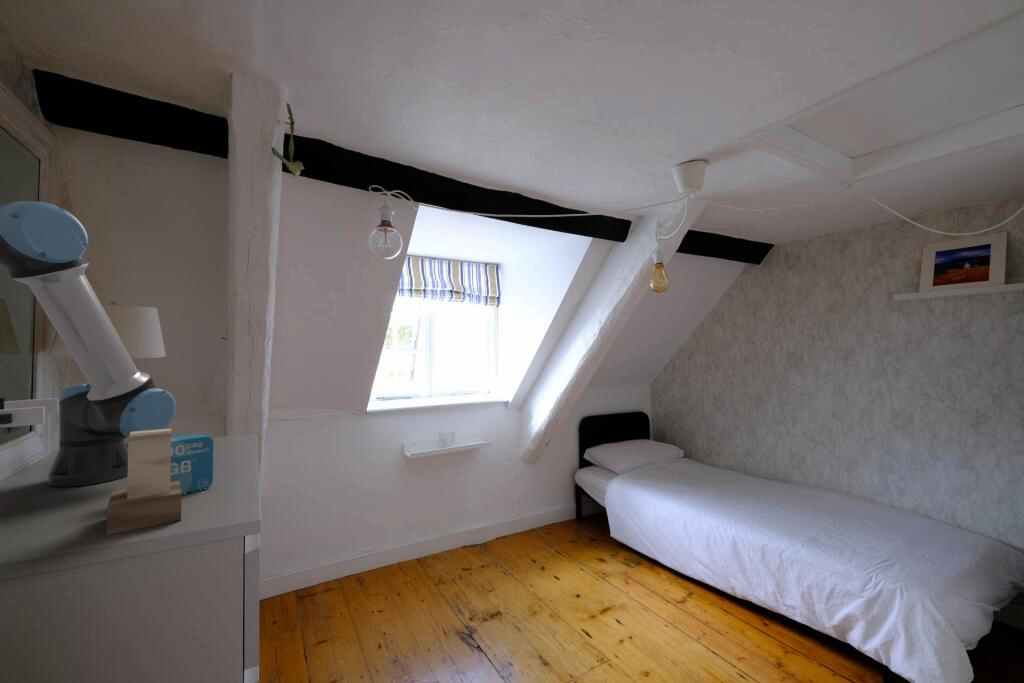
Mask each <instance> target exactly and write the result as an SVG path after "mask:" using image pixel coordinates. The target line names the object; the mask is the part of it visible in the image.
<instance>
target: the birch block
mask: <svg viewBox="0 0 1024 683" xmlns="http://www.w3.org/2000/svg"><path fill="white" fill-rule="evenodd" d="M171 438H172V428H170V427H169V428H166V429H158V430H146V431H135V432H130V435H129V437H128V438H127V441H128V443H127V445H128V446H127V449H128V476H127V499H132V498H138V497H144V496H151V495H157V494H163V493H170V482H171Z"/></svg>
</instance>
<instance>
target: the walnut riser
mask: <svg viewBox="0 0 1024 683" xmlns="http://www.w3.org/2000/svg"><path fill="white" fill-rule="evenodd" d="M179 520H181V521H182V493H181V486H180V481H173V482H170V493H163V494H157V495H151V496H144V497H138V498H132V499H127V488H120V489H113V490H112V492H111V495H110V498H109V501H108V503H107V520H106V521H107V524H106V525H107V527H106V530H107V531H106V535H107V536H108V535H113V534H120V533H123V532H129V531H134V530H139V529H145V528H150V526H151V527H155V526H160V525H159V524H161V525H165V524H164V523H166V524H169V523H168V522H171V523H174V522H173V521H176V522H180V521H179Z"/></svg>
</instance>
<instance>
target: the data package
mask: <svg viewBox="0 0 1024 683" xmlns="http://www.w3.org/2000/svg"><path fill="white" fill-rule="evenodd" d="M173 481H180V486H181V493H182V494H183V493H187V494H189V493H188V492H192V493H194V492H193V491H196V492H198V491H197V490H200V489H205V488H207V489H209V488H210V487H212V485H213V482H214V439H213V438H212V437H211V436H208V435H205V434H201V433H198V434H189V435H183V436H174V437H171V482H173ZM205 490H206V489H205ZM183 495H184V494H183Z"/></svg>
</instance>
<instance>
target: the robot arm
mask: <svg viewBox="0 0 1024 683" xmlns="http://www.w3.org/2000/svg"><path fill="white" fill-rule="evenodd" d="M88 245H89V236H88V233H87V230H86V229H85V227H84V225H83V224H82V223H81V222H80V220H79V219H78V218H77V217H76V216H74V215H73V214H72V213H71V212H69V211H68V210H66V209H64V208H61V207H60V206H57V205H55V204H52V203H50V202H49V203H48V202H43V201H29V200H28V201H27V200H23V201H20V200H19V201H17V200H16V201H14V202H10V203H3V204H0V268H1V267H5V269H6V271H7V272H8V274H9V275H10V277H11V278H12V280H13V281H16V282H18V283H20V284H25V285H26V286H29V289H30V290H31V291H32V293H33V295H34V297H35V298H36V300H37V301H38V303H39V304H40V306H41V308H42V310H43V311H44V313H45V314H46V316H47V318H48V320H50V323H51V324H52V326H53V327H54V329H55V331H56V332H57V334H58V336H59V337H60V338H61V340H62V342H63V343H64V345H65V347H66V349H67V350H68V352H69V353H70V355H71V356H72V358H73V360H74V361H75V363H76V365H77V367H78V368H79V369H80V371H81V373H82V374H83V376H84V377H85V380H86V381H87V382H88V383H83V384H73V385H68V386H65V387H64V388H63V389H62V390H61V392H60V398H58V397H53V398H50V397H49V398H38V399H36V398H35V399H23V400H21V399H20V400H7V401H6V397H0V429H1V428H15V427H16V428H17V427H25V426H36V425H38V426H39V425H44V424H46V422H45V421H46V420H45V417H46V416H45V415H49V414H50V415H51V414H58V413H59V446H58V448H59V449H58V451H57V454H56V456H55V458H54V461H53V463H52V465H51V467H50V469H49V472H48V474H47V486H50V487H61V488H64V487H77V486H87V485H94V484H99V483H105V481H106V482H110V481H113V480H118V479H121V478H125V477H128V446H127V444H126V439H128V437H129V435H130V432H135V431H146V430H158V429H168V427H169V426H170V425H171V423H172V422H173V419H174V416H176V413H177V412H176V411H177V402H176V400H175V398H174V396H173V394H172V393H170V392H169V391H167V390H166V389H163V388H157V386H156V384H155V382H154V381H153V379H152V377H151V375H150V374H149V373H147V372H143V371H140V370H138V368H137V367H136V364H135V362H134V361H133V359H132V357H131V356H130V354H129V352H128V350H127V348H126V347H125V345H124V342H123V341H122V339H121V337H120V335H119V333H118V332H117V330H116V328H115V326H114V325H113V323H112V321H111V319H110V317H109V316H108V314H107V312H106V310H105V309H104V307H103V305H102V303H101V301H100V299H99V298H98V296H97V294H96V292H95V290H94V288H93V287H92V285H91V282H90V281H89V280H88V277H87V276H86V273H85V272H86V270H87V268H89V265H90V262H89V261H88V259H87V256H86V254H85V252H86V250H87V248H86V247H87V246H88Z"/></svg>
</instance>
